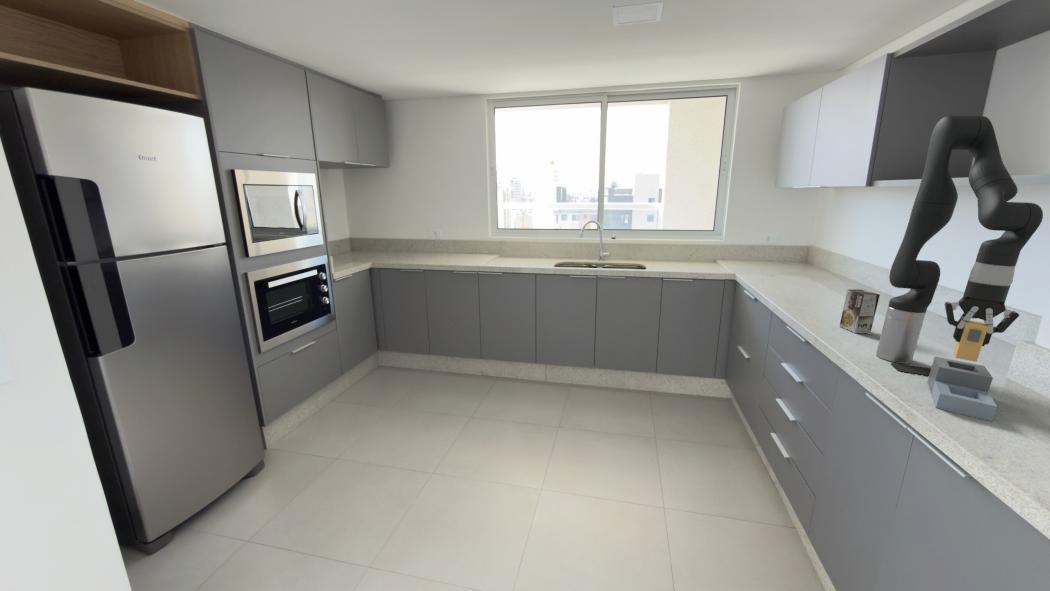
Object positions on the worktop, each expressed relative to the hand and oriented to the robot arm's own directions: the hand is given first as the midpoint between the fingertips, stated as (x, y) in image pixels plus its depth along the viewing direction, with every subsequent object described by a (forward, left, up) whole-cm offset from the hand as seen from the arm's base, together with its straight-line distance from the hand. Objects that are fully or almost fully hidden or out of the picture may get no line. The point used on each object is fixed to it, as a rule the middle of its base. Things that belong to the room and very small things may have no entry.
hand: (969, 342), depth 112 cm
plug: (0, 0, -4) cm, 4 cm away
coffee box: (-51, -23, -15) cm, 58 cm away
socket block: (+5, 0, -15) cm, 16 cm away
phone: (-14, -5, -15) cm, 21 cm away
